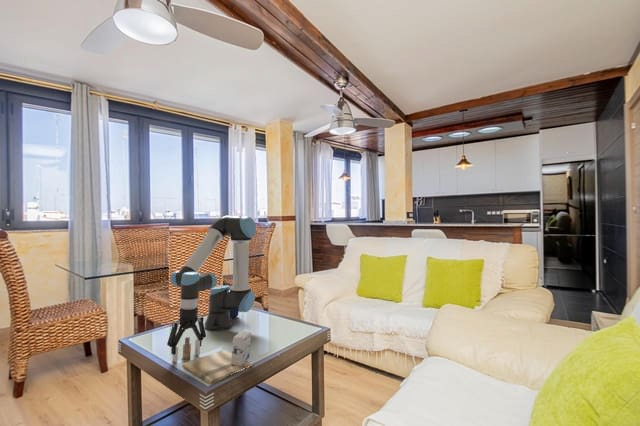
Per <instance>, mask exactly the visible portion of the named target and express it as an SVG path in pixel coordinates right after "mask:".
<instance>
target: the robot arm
mask: <svg viewBox="0 0 640 426" xmlns="http://www.w3.org/2000/svg"><path fill="white" fill-rule="evenodd" d="M256 226H257V225H256V221H255V220H254V218H252V217H250V216H246V215H225V216H222V217H220V218H219V219H217V220H216V221H214V222H213V223H212V224H211V225H210V227H208V229H207V231H206V235H205V236H204V237H203V239H202V241H200V243H199V244H198V246H197V247H196V248H195V250H194V251H193V252H192V254H191V255H190V256H189V258H188V259H187V260H186V262H185V263H184V264H183V265H182V267H181V269H180V270H174V271H173V272H172V273H171V274H170V278H169V281H170V284H171V286H173V287H178V288H180V298H179V299H180V300H179V304H180V305H179V306H180V309H179V320H177V321H173V322H172V323H171V331H170V333H169V337H168V340H167V343H166V346H168V347H170V348H171V352H170V353H171V354H172V361H173V362H174V363H178V356H179V346H178V344H179V343H180V342H179V341H180V340H181V338H182V336H183V334H184V333H185V332H186V330H188V329H192V331H193V333H194V334H195V337H196V339H195V344H194V345H195V346H194V354H195V355H197V356H199V355H200V351H201V350H200V349H201V347H202V342H203V340H204V338H206V337H207V333H206V330H208V331H223V330H227V329H230V328H231V327H232V326H233V320H232V319H231V316H230V310H232V311H238V313H248V312H249V311H250V310H251V309H252V308H253V306H254V304H255V302H256V301H255V300H256V295H255V292H254V291H252V287H251V285H250V284H249V261H250V260H249V257H250V255H249V250H250V248H249V247H250V242H252V240H253V237H254V236H255V235H256V232H257V227H256ZM226 237H230V241H231V242H232V243H233V244H232V254H233V255H232V285H218V286H217V284H218V278H217V276H216V274H215V273H213V272H206V273H200V272H199V271H200V269H201V268H202V267H203V265H204V264H205V262H206V260H208V258H209V256H210V255H211V253H212V252H213V251H214V249H215V247H216V246H217V245H218V243H219V242H221V241H223V239H224V238H226ZM207 290H209V294H208V295H209V297H208V299H209V300H208V315H207V317H206V319H205V322H204V316H201V315H199V316H198V311H199V308H198V307H199V293H200V292H202V291H203V292H204V291H207ZM196 323H197V324H198V326H197V324H196ZM178 327H179V328H178Z"/></svg>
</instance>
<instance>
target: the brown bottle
mask: <svg viewBox="0 0 640 426" xmlns="http://www.w3.org/2000/svg"><path fill="white" fill-rule="evenodd" d="M184 339H185V340H184V343H183V345H182V360H184V361H186V360H190V359H191V355H192V354H191V350H192V348H191V347H192V344H191V343H190V340H191V338H190V337H188V336H186V337H185V338H184Z"/></svg>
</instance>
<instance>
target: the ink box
mask: <svg viewBox="0 0 640 426" xmlns="http://www.w3.org/2000/svg"><path fill="white" fill-rule="evenodd" d="M251 337H252V332H251V331H244V330H240V331H239V332H238V333H237V334H236V335H234V336H233V337H232V349H231V351H232V353H231V354H232V362H231V364H233V365H238V366H242V365H243V364H244V363H245V362H246V361H248V360H249V359H250V353H251Z"/></svg>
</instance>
